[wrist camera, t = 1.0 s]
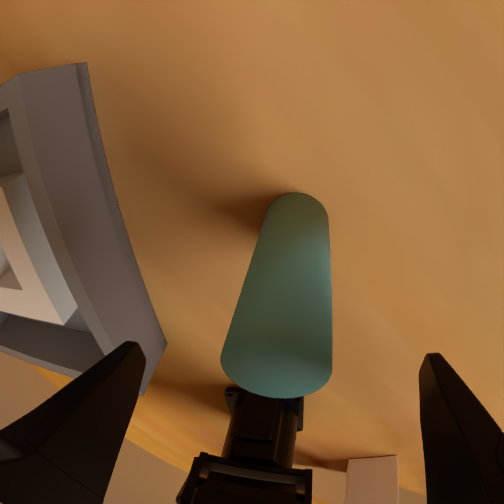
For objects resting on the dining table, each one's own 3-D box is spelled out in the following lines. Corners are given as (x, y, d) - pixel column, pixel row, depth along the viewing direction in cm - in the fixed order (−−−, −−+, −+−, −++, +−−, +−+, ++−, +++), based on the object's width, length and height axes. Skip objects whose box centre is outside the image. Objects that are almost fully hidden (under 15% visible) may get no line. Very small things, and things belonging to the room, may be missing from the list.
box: (167, 343, 23) (143, 395, 19) (14, 316, 28) (-11, 346, 23) (86, 62, 13) (18, 73, 9) (-57, 143, 17) (-96, 165, 13)
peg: (328, 249, 17) (328, 399, 9) (268, 249, 17) (230, 394, 10) (328, 192, 15) (336, 332, 8) (262, 193, 16) (210, 327, 8)
